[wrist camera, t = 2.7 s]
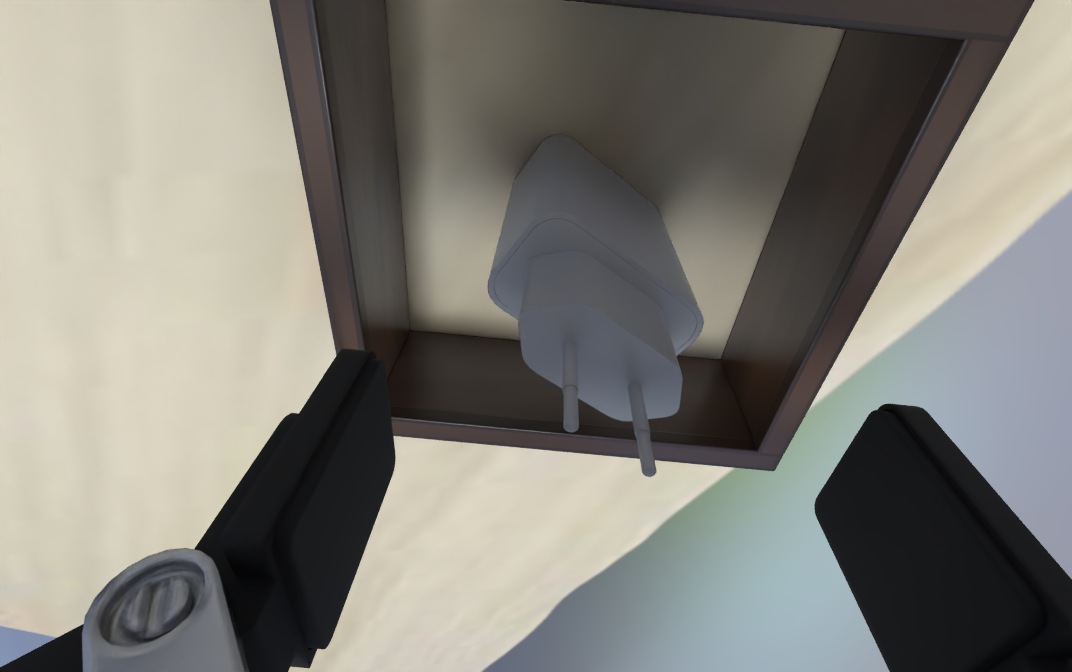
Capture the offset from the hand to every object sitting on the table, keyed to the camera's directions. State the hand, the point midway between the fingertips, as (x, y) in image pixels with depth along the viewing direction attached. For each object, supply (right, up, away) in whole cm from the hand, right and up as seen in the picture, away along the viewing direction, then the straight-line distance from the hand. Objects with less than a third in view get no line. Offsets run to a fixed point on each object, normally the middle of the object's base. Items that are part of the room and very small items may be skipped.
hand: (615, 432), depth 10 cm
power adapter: (0, +7, +9) cm, 11 cm away
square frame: (0, +7, +9) cm, 11 cm away
